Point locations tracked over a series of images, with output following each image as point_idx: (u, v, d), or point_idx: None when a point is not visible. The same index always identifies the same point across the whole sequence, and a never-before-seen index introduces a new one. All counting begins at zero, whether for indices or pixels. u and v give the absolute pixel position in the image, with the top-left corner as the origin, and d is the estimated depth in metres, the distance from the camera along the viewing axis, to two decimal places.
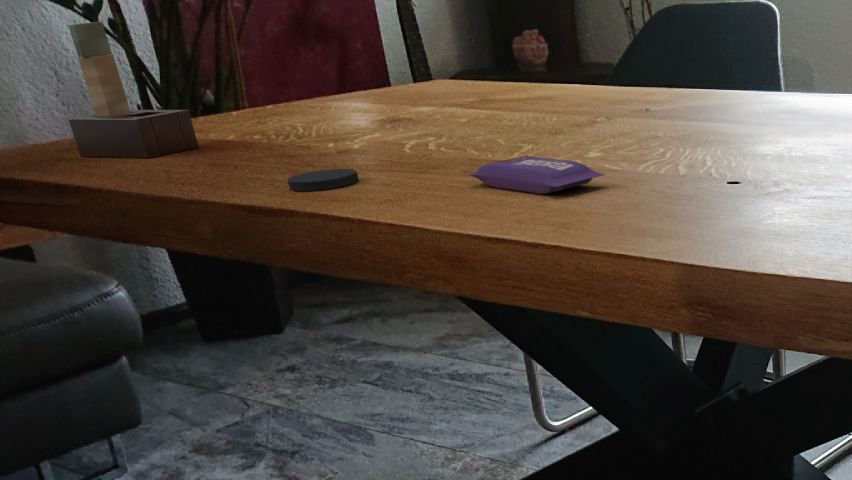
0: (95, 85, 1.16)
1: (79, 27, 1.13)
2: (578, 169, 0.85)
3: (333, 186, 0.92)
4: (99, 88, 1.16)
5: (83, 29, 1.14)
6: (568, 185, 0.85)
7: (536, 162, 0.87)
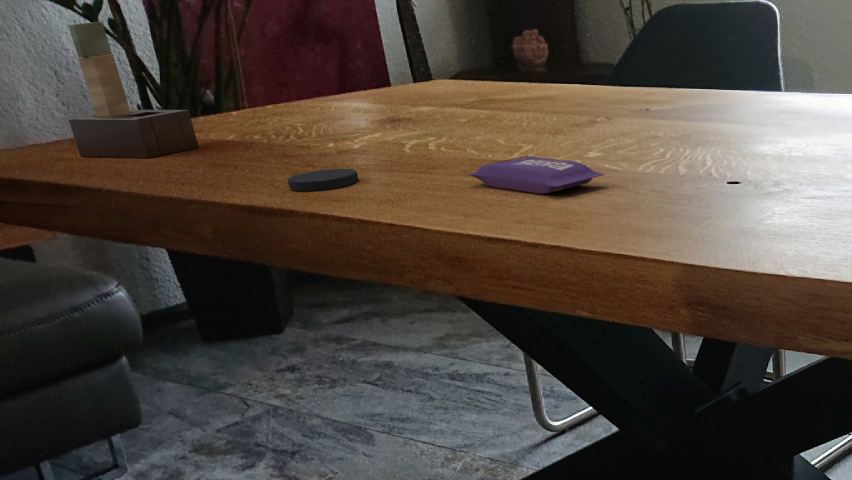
0: (95, 85, 1.16)
1: (79, 27, 1.13)
2: (578, 169, 0.85)
3: (333, 186, 0.92)
4: (99, 88, 1.16)
5: (83, 29, 1.14)
6: (568, 185, 0.85)
7: (536, 162, 0.87)
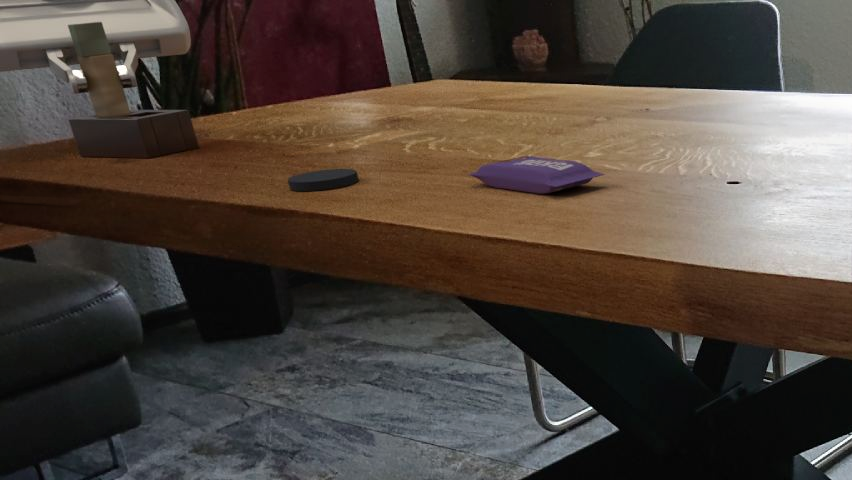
0: (95, 85, 1.16)
1: (78, 27, 1.13)
2: (578, 169, 0.85)
3: (333, 186, 0.92)
4: (99, 88, 1.16)
5: (83, 29, 1.14)
6: (568, 185, 0.85)
7: (536, 162, 0.87)
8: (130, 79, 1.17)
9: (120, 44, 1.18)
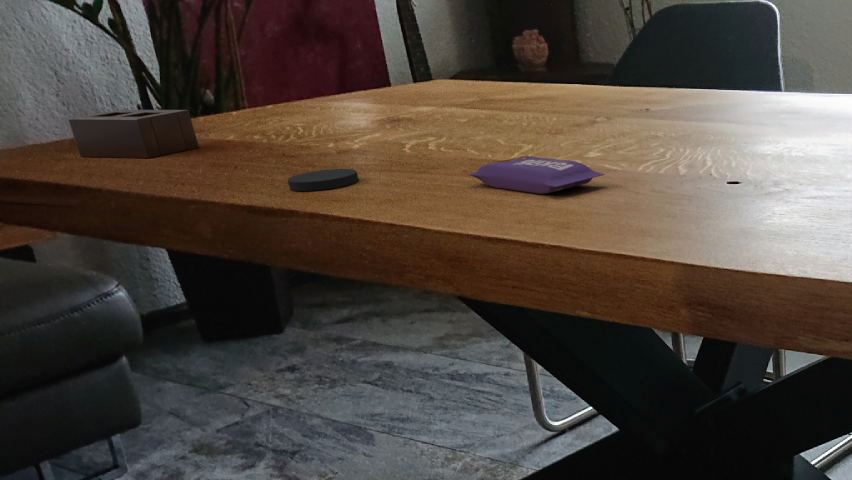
0: None
1: None
2: (578, 169, 0.85)
3: (333, 186, 0.92)
4: None
5: None
6: (568, 185, 0.85)
7: (536, 162, 0.87)
8: None
9: None
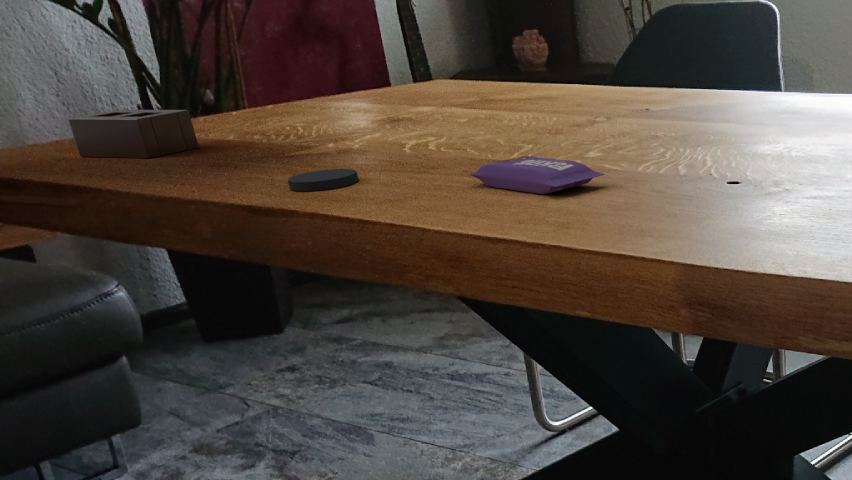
0: None
1: None
2: (578, 169, 0.85)
3: (333, 186, 0.92)
4: None
5: None
6: (568, 185, 0.85)
7: (536, 162, 0.87)
8: None
9: None
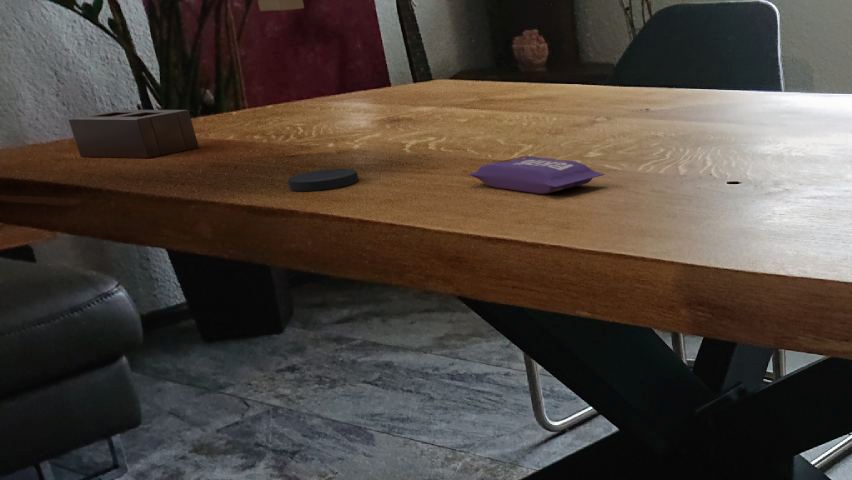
0: None
1: None
2: (578, 169, 0.85)
3: (333, 186, 0.92)
4: None
5: None
6: (568, 185, 0.85)
7: (536, 162, 0.87)
8: None
9: None
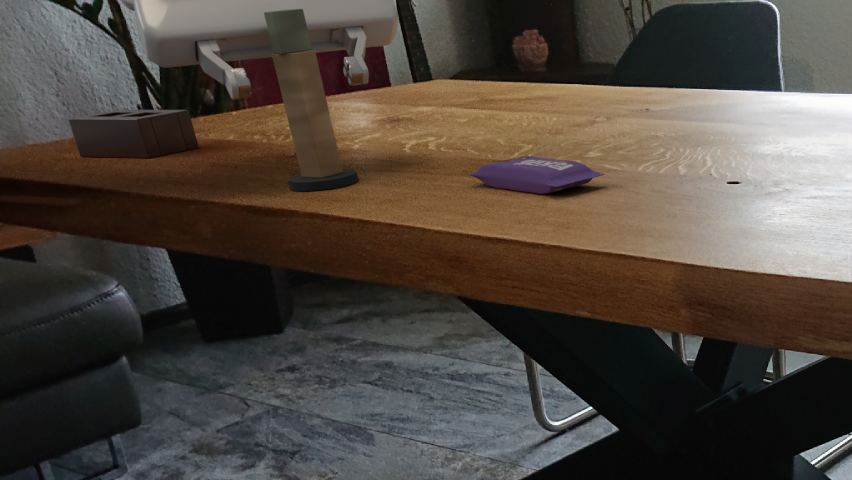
0: (293, 90, 0.90)
1: (278, 15, 0.88)
2: (578, 169, 0.85)
3: (333, 186, 0.92)
4: (298, 93, 0.90)
5: (282, 17, 0.88)
6: (568, 185, 0.85)
7: (536, 162, 0.87)
8: (362, 74, 0.93)
9: (347, 29, 0.93)
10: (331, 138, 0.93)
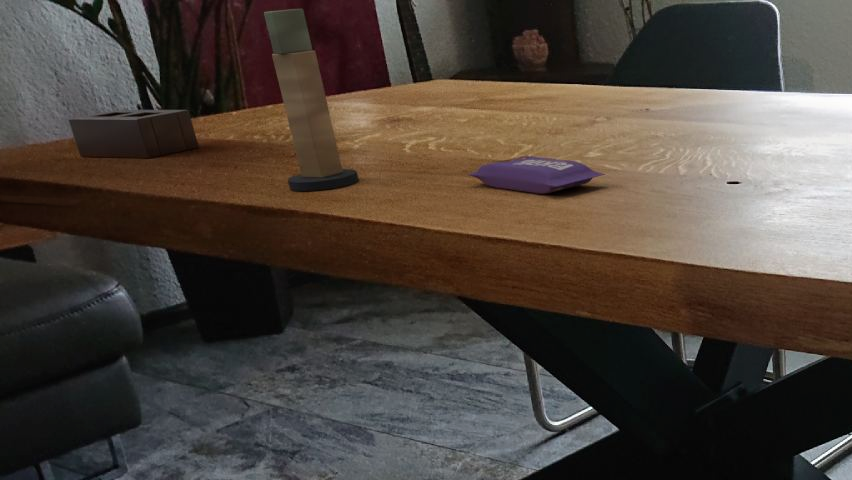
0: (293, 90, 0.90)
1: (278, 15, 0.88)
2: (578, 169, 0.85)
3: (333, 186, 0.92)
4: (298, 93, 0.90)
5: (282, 17, 0.88)
6: (568, 185, 0.85)
7: (536, 162, 0.87)
8: None
9: None
10: (331, 138, 0.93)
